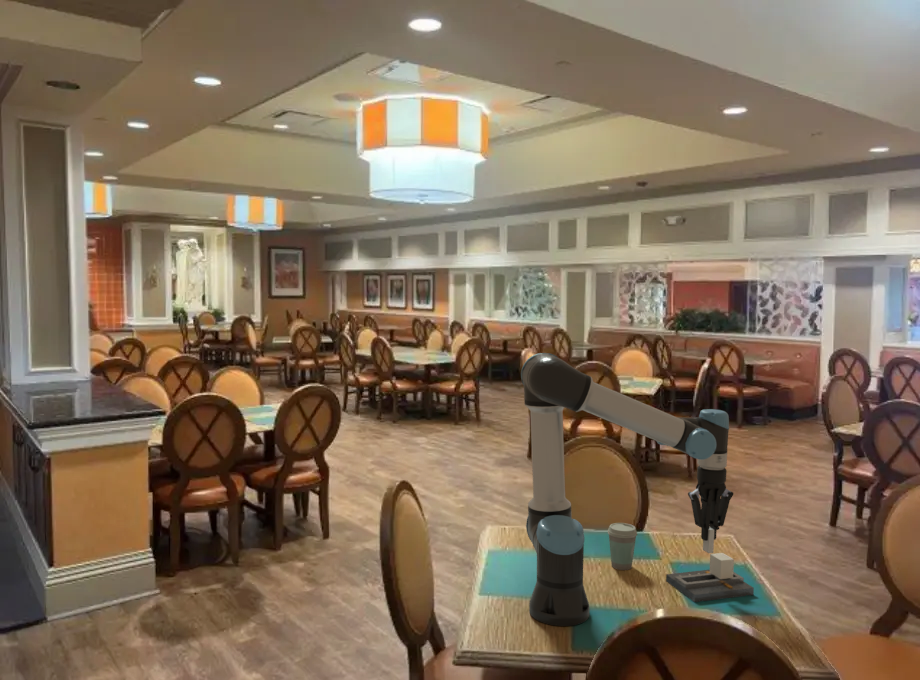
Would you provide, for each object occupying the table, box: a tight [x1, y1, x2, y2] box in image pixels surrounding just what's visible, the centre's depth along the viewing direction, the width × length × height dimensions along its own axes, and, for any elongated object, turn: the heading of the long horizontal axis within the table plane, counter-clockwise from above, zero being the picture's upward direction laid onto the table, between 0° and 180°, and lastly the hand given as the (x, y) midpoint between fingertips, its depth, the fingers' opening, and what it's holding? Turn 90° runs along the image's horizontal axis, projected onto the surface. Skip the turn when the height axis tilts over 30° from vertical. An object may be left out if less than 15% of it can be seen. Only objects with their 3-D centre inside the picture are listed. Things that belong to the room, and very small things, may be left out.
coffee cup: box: [607, 522, 638, 571], centre depth 214 cm, size 8×8×12 cm
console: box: [665, 569, 755, 603], centre depth 199 cm, size 18×14×3 cm
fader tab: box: [709, 552, 735, 579], centre depth 200 cm, size 4×5×6 cm
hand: (708, 551), depth 199 cm, fingers closed
